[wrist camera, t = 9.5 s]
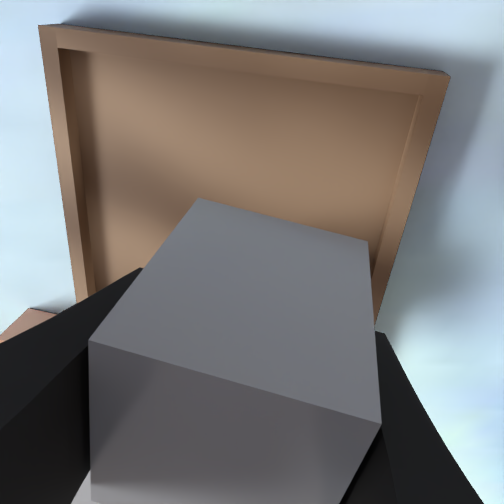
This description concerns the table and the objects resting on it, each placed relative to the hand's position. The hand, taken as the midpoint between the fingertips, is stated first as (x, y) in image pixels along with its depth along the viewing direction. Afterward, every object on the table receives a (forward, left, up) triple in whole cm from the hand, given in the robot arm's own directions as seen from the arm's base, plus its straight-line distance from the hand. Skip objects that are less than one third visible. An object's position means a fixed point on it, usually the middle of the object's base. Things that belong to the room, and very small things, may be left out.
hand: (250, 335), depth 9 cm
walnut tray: (+2, -2, -8) cm, 9 cm away
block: (0, 0, -2) cm, 2 cm away
